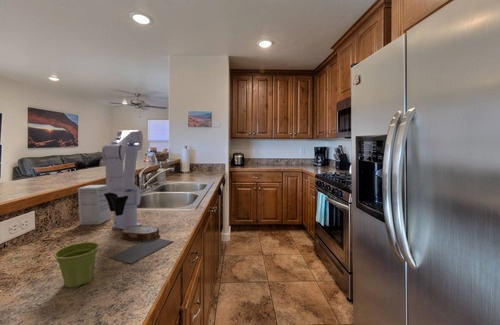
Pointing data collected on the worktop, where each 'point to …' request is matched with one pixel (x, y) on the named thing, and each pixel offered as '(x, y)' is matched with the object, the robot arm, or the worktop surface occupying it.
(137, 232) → the tin
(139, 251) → the mat
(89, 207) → the supplement box
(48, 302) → the worktop surface
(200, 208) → the worktop surface
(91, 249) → the plant pot
